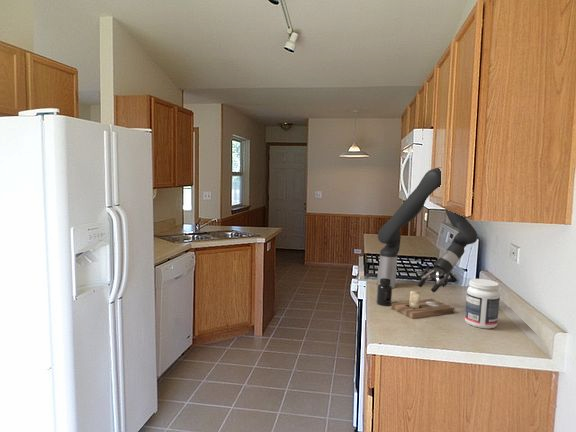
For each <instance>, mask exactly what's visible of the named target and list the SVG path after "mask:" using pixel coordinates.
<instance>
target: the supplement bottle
mask: <svg viewBox="0 0 576 432" xmlns="http://www.w3.org/2000/svg"><path fill="white" fill-rule="evenodd" d="M390 281H391V280H390V279H387V278H381V279H380V284H379V285H377V290H376V292H377V293H376V304H377V305H379V306H383V307H388V306H392V297H393V296H392V295H393V288H392V286H391V285H390V284H391V283H390Z"/></svg>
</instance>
